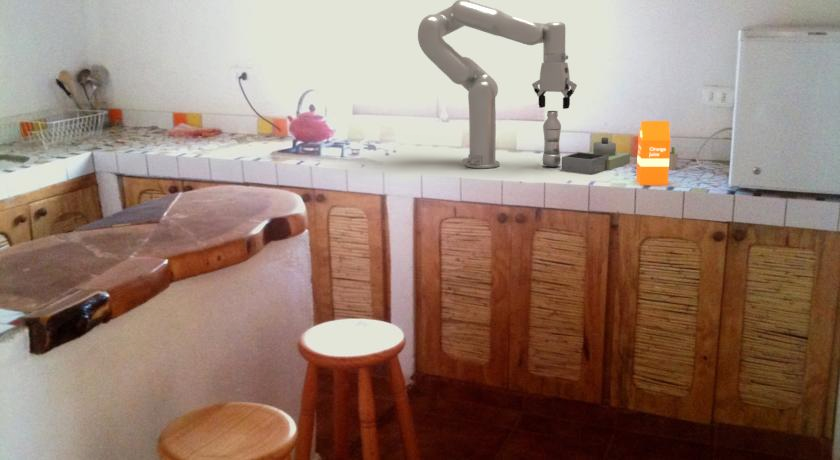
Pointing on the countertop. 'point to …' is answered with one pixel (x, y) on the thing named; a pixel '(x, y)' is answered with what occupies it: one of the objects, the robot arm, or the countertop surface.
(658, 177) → the orange juice
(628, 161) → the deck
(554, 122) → the plastic bottle
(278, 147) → the countertop surface
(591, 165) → the dark grey tray
